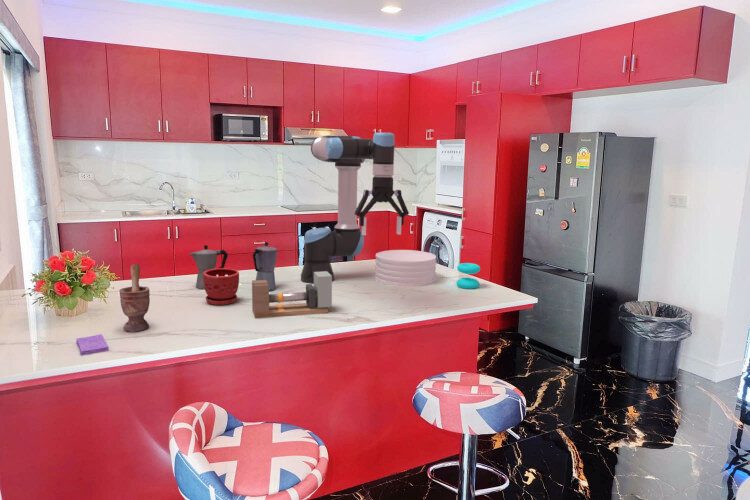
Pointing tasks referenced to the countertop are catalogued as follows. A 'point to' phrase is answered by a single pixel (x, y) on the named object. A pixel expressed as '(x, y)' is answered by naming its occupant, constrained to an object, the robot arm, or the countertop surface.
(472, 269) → the donuts
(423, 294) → the countertop surface
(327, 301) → the sleeve
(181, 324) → the countertop surface
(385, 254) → the plate stack
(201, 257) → the coffeepot
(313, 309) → the pipe rig
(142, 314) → the mortar and pestle
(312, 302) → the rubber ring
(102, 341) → the sponges
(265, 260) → the moka pot
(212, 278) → the plant pot
